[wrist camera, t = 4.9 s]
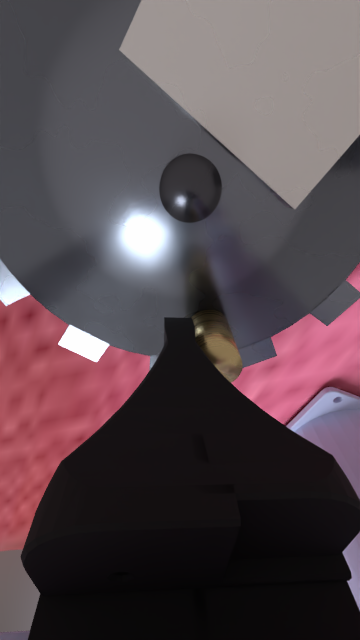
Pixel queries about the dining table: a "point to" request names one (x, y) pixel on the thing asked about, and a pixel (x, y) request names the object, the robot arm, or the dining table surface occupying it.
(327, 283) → the sprocket
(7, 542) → the dining table surface
